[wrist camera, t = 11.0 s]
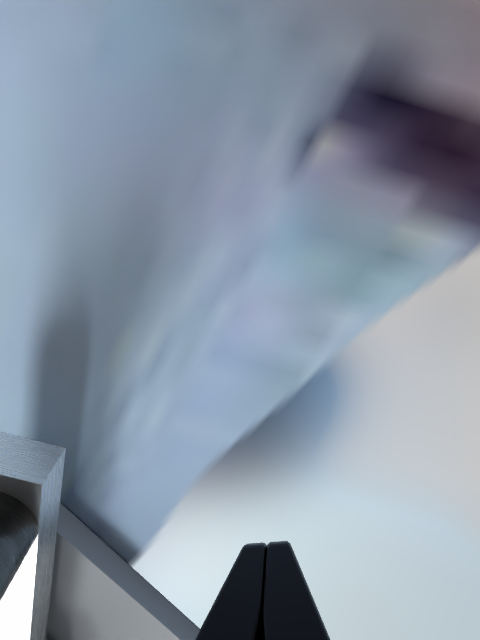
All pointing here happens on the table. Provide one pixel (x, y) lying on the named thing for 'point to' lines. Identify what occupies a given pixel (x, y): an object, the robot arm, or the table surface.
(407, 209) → the table surface
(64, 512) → the crank base
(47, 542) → the crank
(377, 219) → the table surface
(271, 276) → the table surface
